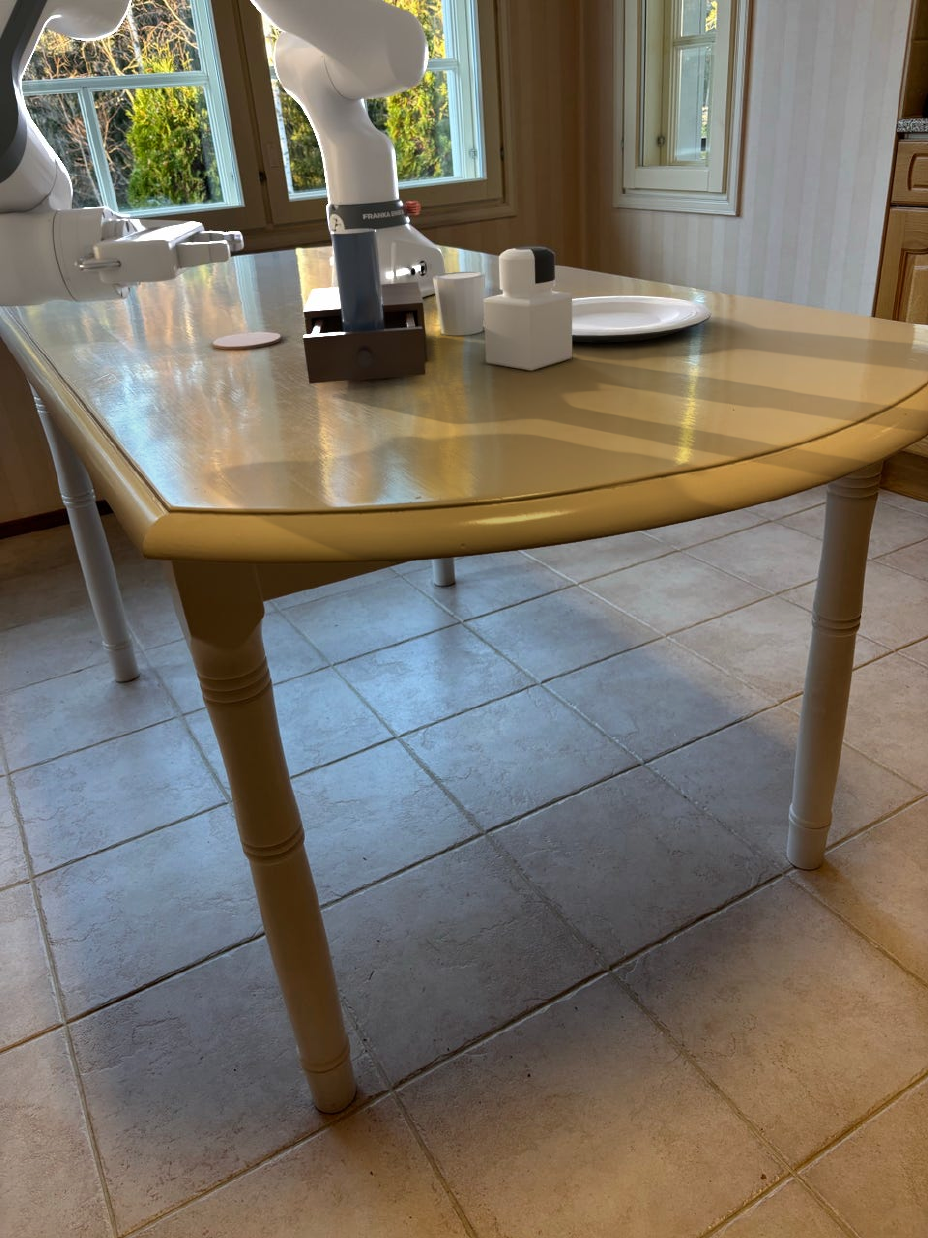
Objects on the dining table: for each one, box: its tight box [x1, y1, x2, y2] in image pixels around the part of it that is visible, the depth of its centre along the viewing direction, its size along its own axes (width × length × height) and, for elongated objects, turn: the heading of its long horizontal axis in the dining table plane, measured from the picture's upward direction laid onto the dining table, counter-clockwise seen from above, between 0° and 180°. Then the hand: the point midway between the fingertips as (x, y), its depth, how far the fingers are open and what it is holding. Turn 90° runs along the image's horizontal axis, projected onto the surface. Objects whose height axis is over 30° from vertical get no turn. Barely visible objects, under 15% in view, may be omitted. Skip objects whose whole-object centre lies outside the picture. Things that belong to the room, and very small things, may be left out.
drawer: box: [302, 311, 427, 384], centre depth 100 cm, size 16×12×5 cm
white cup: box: [433, 271, 486, 336], centre depth 117 cm, size 7×7×7 cm
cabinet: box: [302, 282, 428, 362], centre depth 110 cm, size 16×14×7 cm
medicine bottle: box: [483, 246, 573, 372], centre depth 99 cm, size 7×7×12 cm
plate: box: [572, 295, 712, 344], centre depth 115 cm, size 25×25×2 cm
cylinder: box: [331, 229, 385, 332], centre depth 96 cm, size 5×5×13 cm
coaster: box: [212, 331, 282, 351], centre depth 120 cm, size 9×9×1 cm
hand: (236, 245), depth 92 cm, fingers open, 8 cm apart
